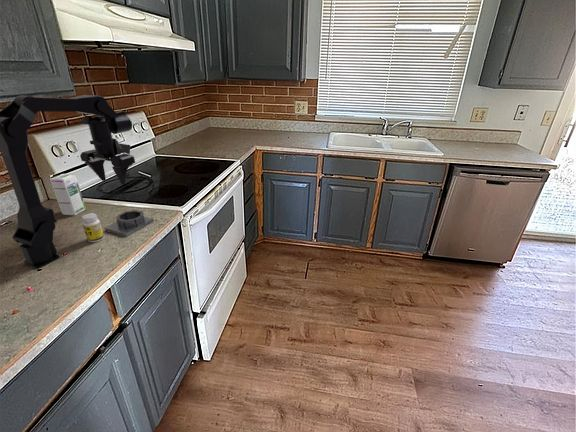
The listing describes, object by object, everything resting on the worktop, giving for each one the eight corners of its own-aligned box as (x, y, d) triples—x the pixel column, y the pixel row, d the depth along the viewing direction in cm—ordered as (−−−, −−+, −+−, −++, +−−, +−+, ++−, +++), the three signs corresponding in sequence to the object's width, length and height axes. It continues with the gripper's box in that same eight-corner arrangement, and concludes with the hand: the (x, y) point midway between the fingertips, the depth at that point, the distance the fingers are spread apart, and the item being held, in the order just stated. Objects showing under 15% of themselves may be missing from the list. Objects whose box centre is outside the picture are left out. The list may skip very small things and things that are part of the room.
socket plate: (126, 236, 104) (124, 226, 103) (105, 230, 108) (102, 221, 106) (153, 221, 114) (151, 212, 113) (133, 216, 118) (131, 207, 116)
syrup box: (75, 215, 118) (63, 179, 112) (61, 214, 119) (49, 178, 113) (86, 209, 123) (75, 174, 117) (73, 208, 124) (61, 173, 118)
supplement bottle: (84, 240, 102) (77, 217, 98) (98, 234, 106) (91, 211, 102) (93, 244, 100) (86, 220, 96) (107, 237, 104) (100, 214, 100)
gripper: (143, 134, 105) (151, 178, 112) (103, 130, 112) (113, 172, 119) (114, 141, 96) (126, 189, 103) (73, 136, 103) (86, 181, 109)
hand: (113, 182), depth 109 cm, fingers open, 9 cm apart
